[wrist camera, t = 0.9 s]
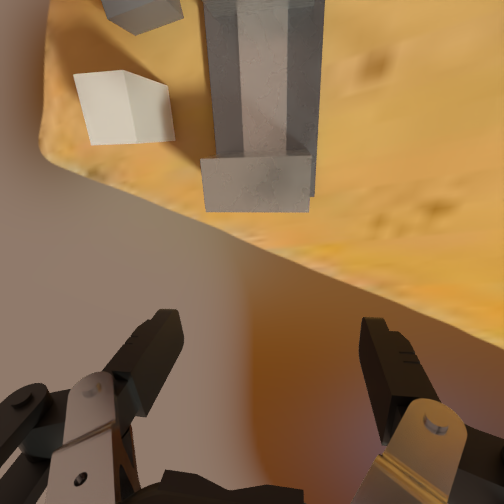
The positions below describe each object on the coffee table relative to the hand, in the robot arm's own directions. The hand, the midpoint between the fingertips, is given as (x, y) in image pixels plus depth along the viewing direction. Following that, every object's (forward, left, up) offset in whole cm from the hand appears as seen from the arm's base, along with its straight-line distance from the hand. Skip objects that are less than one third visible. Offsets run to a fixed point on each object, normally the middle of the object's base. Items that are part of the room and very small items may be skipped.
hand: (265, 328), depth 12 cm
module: (-10, -17, -26) cm, 32 cm away
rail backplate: (-12, -3, -26) cm, 29 cm away
